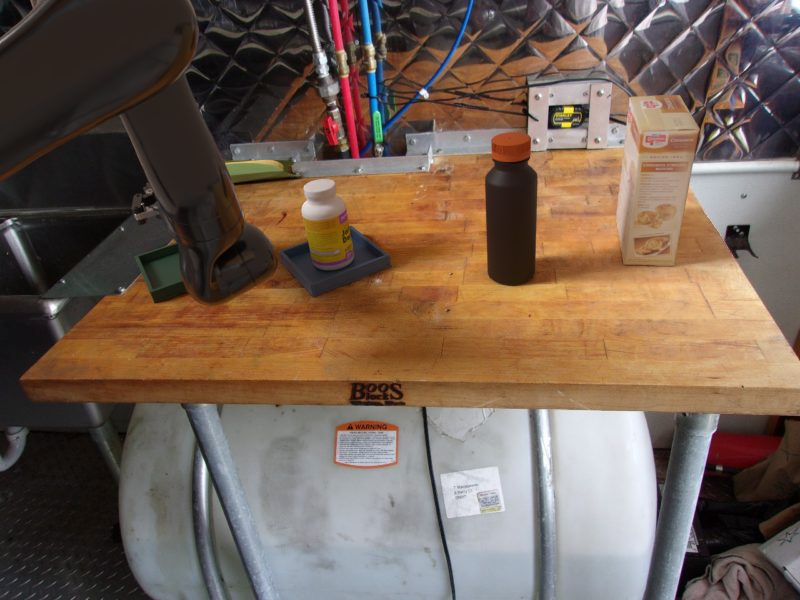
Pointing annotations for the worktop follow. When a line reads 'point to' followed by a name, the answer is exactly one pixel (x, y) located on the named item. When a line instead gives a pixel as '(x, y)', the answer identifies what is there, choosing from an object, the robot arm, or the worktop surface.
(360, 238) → the bottle tray
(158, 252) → the can tray
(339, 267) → the supplement bottle
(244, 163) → the edible corn
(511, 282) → the vinegar
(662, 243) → the coffeecake box
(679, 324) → the worktop surface
